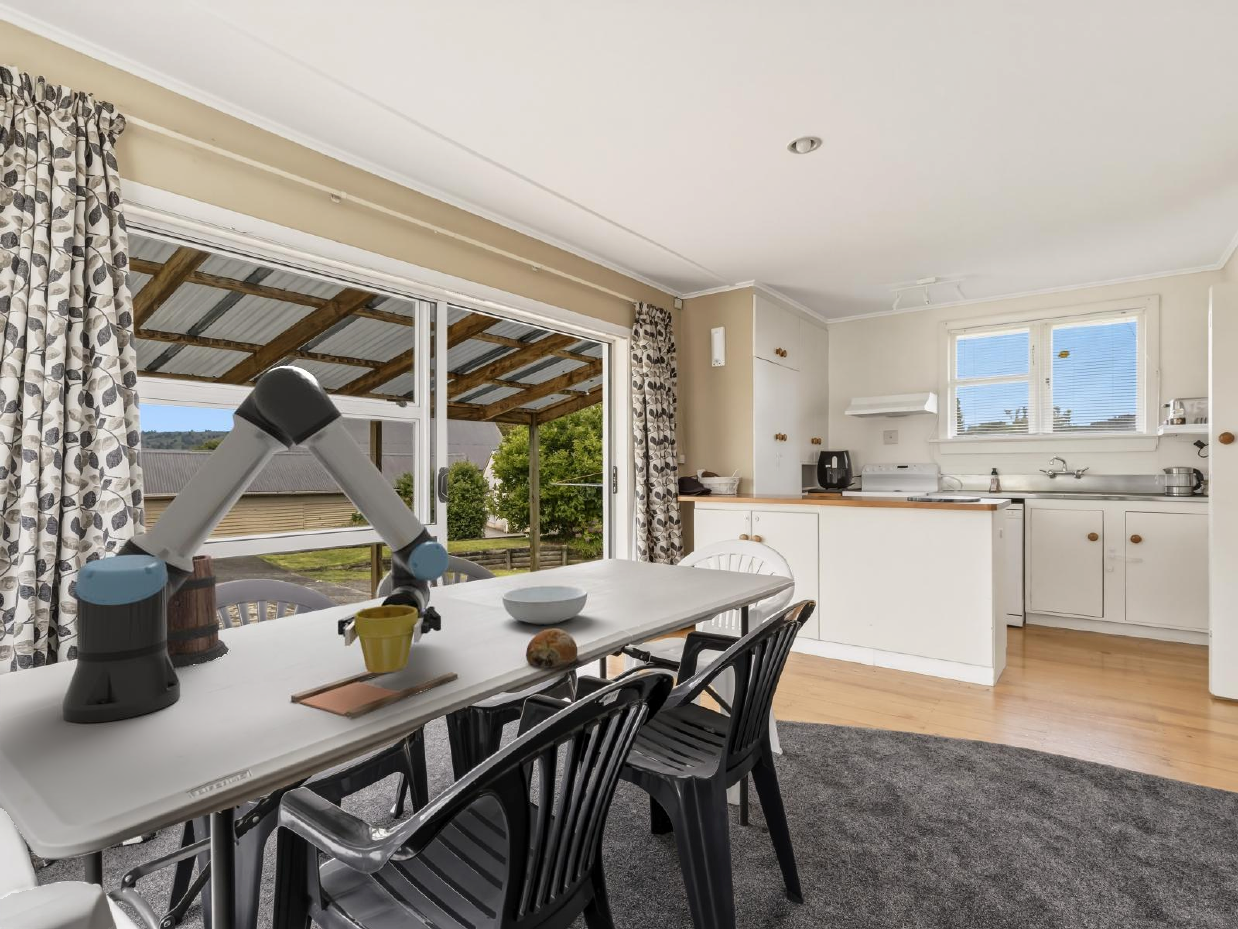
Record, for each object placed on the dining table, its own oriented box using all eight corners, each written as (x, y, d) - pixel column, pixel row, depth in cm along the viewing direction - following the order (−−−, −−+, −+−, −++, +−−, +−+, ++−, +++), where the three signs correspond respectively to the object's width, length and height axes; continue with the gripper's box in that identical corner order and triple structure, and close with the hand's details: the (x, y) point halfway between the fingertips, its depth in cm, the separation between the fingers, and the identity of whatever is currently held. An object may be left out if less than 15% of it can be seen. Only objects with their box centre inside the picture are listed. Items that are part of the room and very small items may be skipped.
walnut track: (353, 718, 102) (352, 713, 102) (291, 700, 110) (291, 695, 110) (457, 678, 121) (457, 673, 121) (398, 665, 129) (398, 661, 129)
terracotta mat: (343, 715, 103) (343, 713, 103) (299, 702, 108) (299, 701, 108) (400, 694, 112) (400, 692, 112) (357, 683, 118) (357, 681, 118)
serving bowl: (542, 608, 180) (542, 582, 180) (604, 617, 168) (604, 590, 168) (484, 623, 163) (484, 594, 163) (548, 635, 151) (548, 605, 151)
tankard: (242, 655, 136) (242, 557, 136) (143, 675, 124) (142, 567, 124) (205, 636, 152) (205, 548, 152) (114, 652, 139) (113, 556, 139)
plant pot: (389, 680, 110) (389, 620, 109) (341, 672, 113) (340, 615, 113) (430, 662, 119) (430, 607, 119) (384, 656, 123) (384, 603, 123)
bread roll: (581, 680, 130) (593, 640, 133) (545, 669, 123) (558, 626, 126) (547, 670, 137) (560, 631, 139) (511, 658, 130) (525, 618, 133)
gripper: (461, 624, 136) (452, 655, 114) (342, 629, 132) (309, 662, 110) (461, 587, 136) (452, 610, 114) (342, 591, 132) (309, 616, 110)
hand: (381, 636), depth 112 cm, fingers closed on plant pot, 10 cm apart
